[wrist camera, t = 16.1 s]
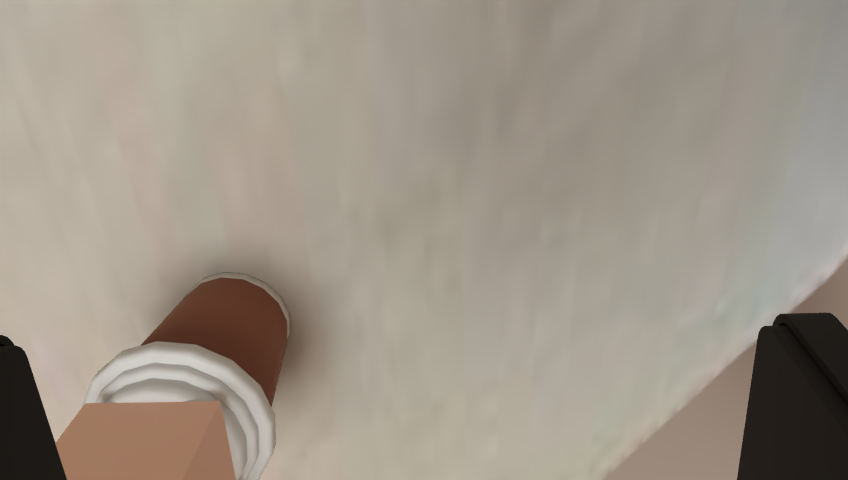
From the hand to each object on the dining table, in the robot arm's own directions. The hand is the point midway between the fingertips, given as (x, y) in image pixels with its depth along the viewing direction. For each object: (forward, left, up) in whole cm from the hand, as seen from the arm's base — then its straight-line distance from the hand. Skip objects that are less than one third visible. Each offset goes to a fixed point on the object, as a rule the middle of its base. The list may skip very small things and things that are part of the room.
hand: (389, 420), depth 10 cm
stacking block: (+13, +16, -18) cm, 28 cm away
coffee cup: (+13, +16, -31) cm, 37 cm away
